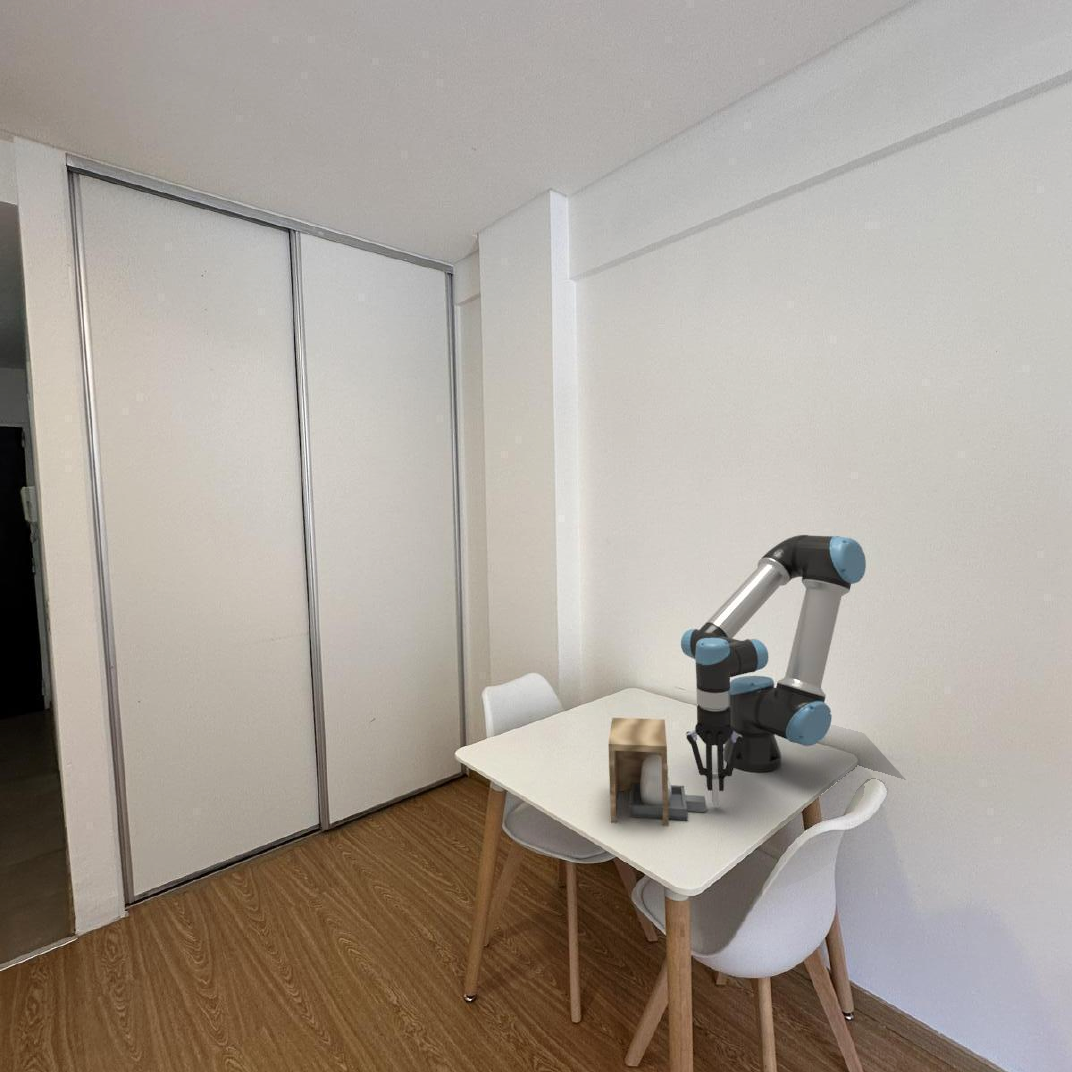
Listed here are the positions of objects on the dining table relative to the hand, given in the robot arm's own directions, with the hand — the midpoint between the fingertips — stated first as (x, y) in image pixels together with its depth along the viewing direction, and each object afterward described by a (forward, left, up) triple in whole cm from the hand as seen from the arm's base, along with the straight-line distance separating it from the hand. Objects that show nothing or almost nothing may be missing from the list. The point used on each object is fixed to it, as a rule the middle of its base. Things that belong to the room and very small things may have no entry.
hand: (715, 803), depth 140 cm
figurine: (+14, 0, -1) cm, 14 cm away
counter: (+18, 0, -2) cm, 18 cm away
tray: (+11, 0, -1) cm, 11 cm away
